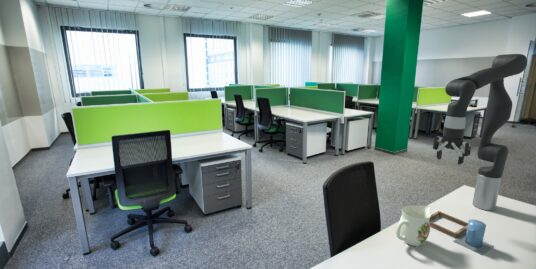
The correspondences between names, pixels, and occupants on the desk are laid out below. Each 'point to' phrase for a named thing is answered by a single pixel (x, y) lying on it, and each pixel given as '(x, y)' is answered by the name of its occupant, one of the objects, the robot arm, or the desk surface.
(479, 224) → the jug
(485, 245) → the mat
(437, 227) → the holder
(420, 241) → the pitcher
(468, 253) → the desk surface
